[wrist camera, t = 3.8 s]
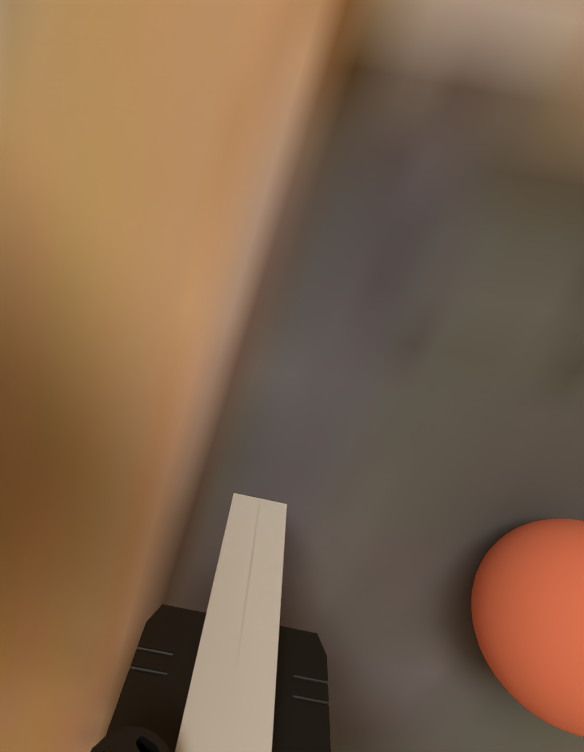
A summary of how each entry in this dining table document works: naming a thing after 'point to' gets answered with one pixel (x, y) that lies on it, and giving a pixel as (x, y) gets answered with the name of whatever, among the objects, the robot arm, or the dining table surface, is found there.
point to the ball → (536, 618)
